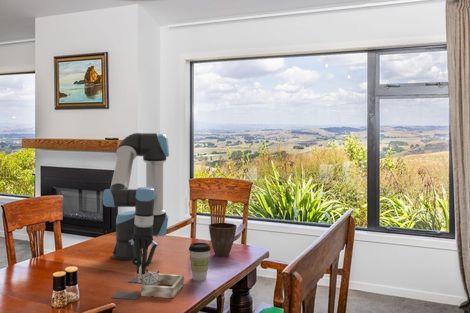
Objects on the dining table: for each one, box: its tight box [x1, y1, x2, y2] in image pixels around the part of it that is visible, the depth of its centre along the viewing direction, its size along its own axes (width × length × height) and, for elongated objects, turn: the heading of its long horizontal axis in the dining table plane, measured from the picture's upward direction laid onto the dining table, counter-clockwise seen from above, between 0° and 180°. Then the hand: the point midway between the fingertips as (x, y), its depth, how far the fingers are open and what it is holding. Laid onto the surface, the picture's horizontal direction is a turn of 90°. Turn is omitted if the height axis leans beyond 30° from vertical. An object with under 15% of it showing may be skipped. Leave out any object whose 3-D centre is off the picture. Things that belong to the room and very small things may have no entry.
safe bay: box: [140, 273, 185, 299], centre depth 171 cm, size 13×15×4 cm
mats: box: [110, 276, 143, 301], centre depth 173 cm, size 10×24×1 cm, turn 173°
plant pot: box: [208, 222, 238, 258], centre depth 225 cm, size 15×15×16 cm
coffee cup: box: [188, 242, 212, 281], centre depth 187 cm, size 10×10×15 cm
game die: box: [140, 269, 162, 286], centre depth 170 cm, size 9×8×10 cm
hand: (140, 281), depth 173 cm, fingers closed
